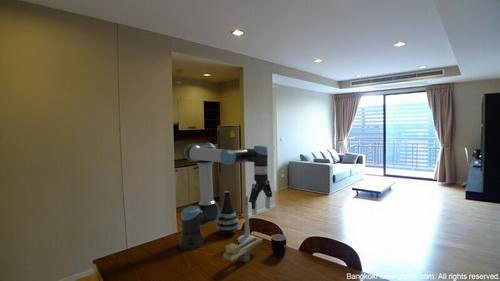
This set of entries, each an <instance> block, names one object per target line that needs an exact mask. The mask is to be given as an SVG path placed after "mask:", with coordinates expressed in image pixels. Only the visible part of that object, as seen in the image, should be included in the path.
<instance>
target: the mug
mask: <svg viewBox="0 0 500 281" xmlns="http://www.w3.org/2000/svg"><path fill="white" fill-rule="evenodd" d="M270 244H271V251H272V254H273V256H274V257H276V258H283V257H284V256H285V255H286V252H287V251H286V250H287V236H286V235H284V234H279V233H277V234H273V235H271V236H270Z"/></svg>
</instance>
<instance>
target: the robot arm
mask: <svg viewBox="0 0 500 281" xmlns="http://www.w3.org/2000/svg"><path fill="white" fill-rule="evenodd" d="M183 154H184V157H185V158H186V160H188V161H190V162H196V165H198V174H199V176H198V177H199V191H200V192H199V193H200V194H199V195H200V196H199V197H200V200H199V202H198V205H192V206H191V205H190V206H187V207H185V208H184V209H182V210H181V217H180V220H181V235H180V240H179V242H178V243H179V244H178V246H179V248H180V249H181V250H188V251H189V250H195V249H198V248H201V247H202V246H203V245H204V238H203V235H202V231H201V226H204V225H207V224H209V223H213V222H215V221H217V219H218V217H219V215H220V211H221V209H220V207H219V205H218V203H217V202H216V201H215V199H214V186H213V164H214V163H222V164H223V165H233V164H240V163H246V162H247V163H253V173H254V174H253V176H254V177H253V178H254V181H255V183H252V185H251V191H250V193H249V194H250V195H249V197H248V203H250V204H251V215H253V216H258V203H257V200H258V197H259V195H260V193H261V192H262V191H263V193H264V194H265V197H264V200H265V201H264V202H265V209H269V210H270V209H271V198H272V197H273V192H272V188H271V185H270V180H269V175H268V171H269V170H268V169H269V167H268V158H269V156H268V155H269V153H268V146H267V145H254V146H253V148H244V147H243V148H239V149H224V148H223V149H221V148H216V146H215V145H214V144H213V143H211V142H199V143H198V142H197V143H196V142H194V143H190V144H188V145H186V147H185V148H184V150H183Z"/></svg>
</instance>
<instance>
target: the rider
mask: <svg viewBox="0 0 500 281" xmlns="http://www.w3.org/2000/svg"><path fill="white" fill-rule="evenodd" d="M225 252H227V253H230V254H231V255H232V254H233V255H234V254H236V253H238V252H240V246H239V244H235V243H234V242H233V243H232V242H231V243H230V244H227V245H226V246H225Z"/></svg>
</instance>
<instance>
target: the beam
mask: <svg viewBox="0 0 500 281" xmlns="http://www.w3.org/2000/svg"><path fill="white" fill-rule="evenodd" d="M253 236H254V237H252V238H250V239H249V240H247V241H245V242H243V243H242V244H241V243H239V244H238V245H239V246H240V252H238V253H236V254H234V255H233V254H232V255H231V254H230V253H227V252H226V251H225V252H223V253H222V258H223V259H224V260H225V259H226V260H228V261H231V262H232V261H234V260H236V259H238V261H241V262H243V263H245V264H246V263H247V262H249V261H250V260H251V250H252V249H253V248H256V247H257V246H259V245H260V244H262V243H263V242H264V241H263V240H264V239H263V237H259V236H255V235H253Z"/></svg>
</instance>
